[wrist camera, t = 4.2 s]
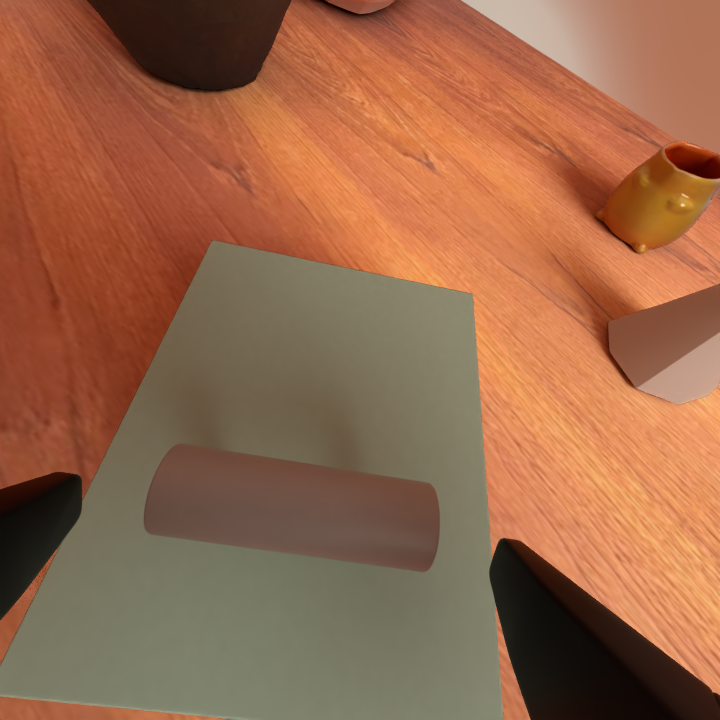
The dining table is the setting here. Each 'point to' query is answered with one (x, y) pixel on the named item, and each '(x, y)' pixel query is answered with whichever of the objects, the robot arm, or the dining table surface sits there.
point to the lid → (283, 513)
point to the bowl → (361, 5)
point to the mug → (663, 196)
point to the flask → (671, 346)
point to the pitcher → (196, 37)
